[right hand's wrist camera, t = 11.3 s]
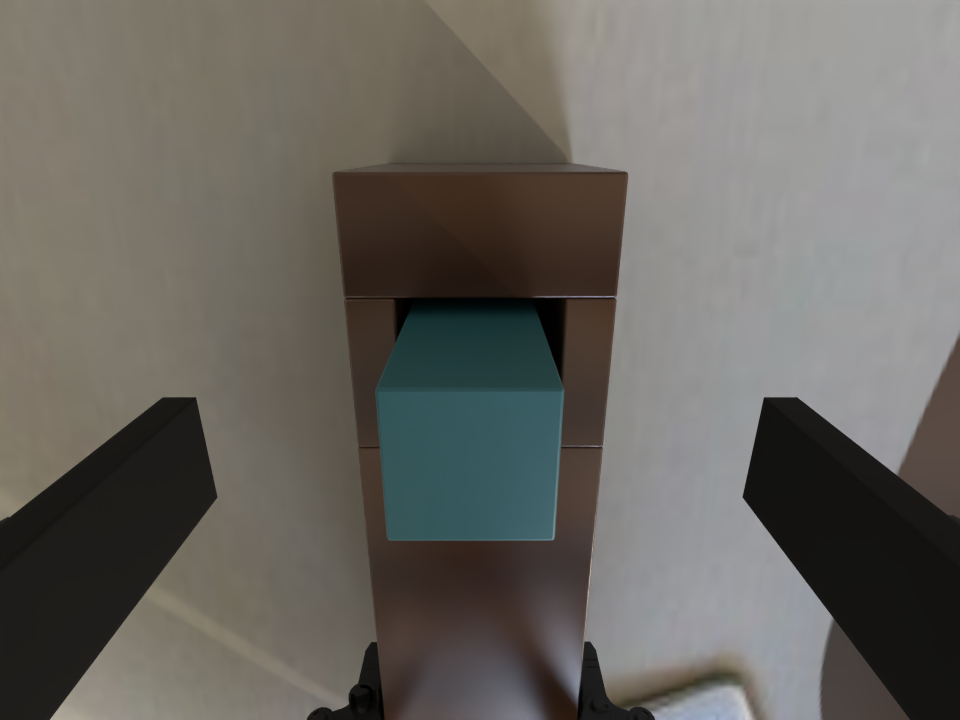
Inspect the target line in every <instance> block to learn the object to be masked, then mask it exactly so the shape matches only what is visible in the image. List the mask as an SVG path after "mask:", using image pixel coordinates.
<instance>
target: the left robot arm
mask: <svg viewBox="0 0 960 720" xmlns="http://www.w3.org/2000/svg"><path fill="white" fill-rule="evenodd" d="M307 720H385V718H384V707H383V697H382V687H381V676H380V666H379V656H378V646H377V642H371V644H370V645H369V647H368V648H367V649H366V651H365V656H364V661H363V665H362V669H361V673H360V678H359V682H358V684H356V685H355V686H354V687H353V688H352V689H351V690H350V693H349V705H347V706H346V707H344V708H342V709H339V710H336V711H333V712H332V711H331V709H329V708H325V707H321V708H318V709H316V710H314V711H313V712H312V713H311V714H310V715H309V716H308V718H307ZM577 720H655V718H654V716H653V715H652V713H651V712H650V711H648V710H647V709H645V708H642V707H634V708H632V709H631V710H630V711H628V710H625V709H621V708H619V707H617V706H615V705H614V704H612V703H611V702H610V701H609V699H608V697H607V695H606V692H605V688H604V684H603V679H602V675H601V671H600V666H599V662H598V658H597V653H596V650H595V648H594V647H593V645H592V644H591V642H584V650H583V660H582V671H581V681H580V692H579V702H578V713H577Z"/></svg>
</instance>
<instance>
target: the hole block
mask: <svg viewBox="0 0 960 720" xmlns="http://www.w3.org/2000/svg"><path fill="white" fill-rule="evenodd" d="M332 179H333V189H334V200H335V210H336V220H337V231H338V241H339V251H340V262H341V272H342V282H343V293H344V297H345V298H346V299H345V301H344V303H345V314H346V324H347V334H348V345H349V355H350V365H351V376H352V386H353V396H354V406H355V417H356V427H357V437H358V445H359V448H358V450H359V461H360V471H361V481H362V491H363V502H364V512H365V522H366V533H367V543H368V553H369V563H370V574H371V584H372V594H373V605H374V615H375V625H376V635H377V646H378V656H379V666H380V676H381V687H382V697H383V707H384V718H385V720H577V713H578V702H579V692H580V681H581V671H582V660H583V650H584V639H585V628H586V618H587V607H588V597H589V586H590V576H591V565H592V555H593V544H594V534H595V523H596V513H597V502H598V492H599V481H600V471H601V460H602V449H603V448H602V445H603V437H604V427H605V416H606V405H607V395H608V384H609V374H610V363H611V353H612V342H613V332H614V321H615V311H616V298H615V297H616V295H617V288H618V277H619V267H620V256H621V246H622V235H623V225H624V214H625V203H626V193H627V182H628V173H627V172H625V171H619V170H612V169H606V168H599V167H593V166H587V165H580V164H574V163H431V164H382V165H376V166H369V167H363V168H357V169H350V170H344V171H338V172H334V173H333V175H332ZM415 298H534V305H535V308H536V311H537V314H538V316H539V319H540V322H541V325H542V328H543V331H544V334H545V336H546V339H547V342H548V345H549V348H550V351H551V354H552V356H553V359H554V362H555V365H556V368H557V371H558V374H559V377H560V379H561V382H562V385H563V388H564V403H563V419H562V435H561V450H560V466H559V482H558V498H557V513H556V529H555V538H554V540H388V538H387V533H386V521H385V508H384V495H383V483H382V470H381V457H380V445H379V432H378V419H377V407H376V394H375V390H376V387H377V385H378V382H379V380H380V378H381V376H382V373H383V371H384V369H385V366H386V364H387V362H388V359H389V357H390V355H391V352H392V350H393V348H394V345H395V343H396V341H397V339H398V336H399V334H400V332H401V329H402V327H403V325H404V322H405V320H406V318H407V315H408V313H409V311H410V308H411V306H412V304H413V302H414V299H415Z"/></svg>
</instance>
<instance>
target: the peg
mask: <svg viewBox="0 0 960 720" xmlns="http://www.w3.org/2000/svg"><path fill="white" fill-rule="evenodd" d="M375 394H376V407H377V419H378V432H379V445H380V457H381V470H382V483H383V495H384V508H385V521H386V533H387V538H388V540H554V538H555V529H556V513H557V498H558V482H559V466H560V450H561V435H562V419H563V403H564V388H563V385H562V382H561V379H560V377H559V374H558V371H557V368H556V365H555V362H554V359H553V356H552V354H551V351H550V348H549V345H548V342H547V339H546V336H545V334H544V331H543V328H542V325H541V322H540V319H539V316H538V314H537V311H536V308H535V305H534V302H533V299H532V298H415V299H414V302H413V304H412V306H411V308H410V311H409V313H408V315H407V318H406V320H405V322H404V325H403V327H402V329H401V332H400V334H399V336H398V339H397V341H396V343H395V345H394V348H393V350H392V352H391V355H390V357H389V359H388V362H387V364H386V366H385V369H384V371H383V373H382V376H381V378H380V380H379V382H378V385H377V387H376V390H375Z"/></svg>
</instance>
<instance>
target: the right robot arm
mask: <svg viewBox="0 0 960 720" xmlns="http://www.w3.org/2000/svg"><path fill="white" fill-rule="evenodd" d="M216 498H217V493H216V489H215V484H214V479H213V475H212V470H211V465H210V461H209V456H208V451H207V447H206V442H205V437H204V433H203V428H202V423H201V419H200V414H199V409H198V405H197V400H196V397H163V398H161V399H160V400H159V401H158V402H156V403H155V404H154V405H153V406H151V407H150V408H149V409H147V410H146V411H145V412H144V413H142V414H141V415H140V416H139V417H137V418H136V419H135V420H133V421H132V422H131V423H130V424H128V425H127V426H126V427H124V428H123V429H122V430H121V431H119V432H118V433H117V434H116V435H114V436H113V437H112V438H110V439H109V440H108V441H107V442H105V443H104V444H103V445H101V446H100V447H99V448H98V449H96V450H95V451H94V452H93V453H91V454H90V455H89V456H87V457H86V458H85V459H84V460H82V461H81V462H80V463H79V464H77V465H76V466H75V467H73V468H72V469H71V470H70V471H68V472H67V473H66V474H64V475H63V476H62V477H61V478H59V479H58V480H57V481H56V482H54V483H53V484H52V485H50V486H49V487H48V488H47V489H45V490H44V491H43V492H41V493H40V494H39V495H38V496H36V497H35V498H34V499H33V500H31V501H30V502H29V503H27V504H26V505H25V506H24V507H22V508H21V509H20V510H18V511H17V512H16V513H15V514H13V515H12V516H11V517H7V518H5V519H3V520H1V521H0V720H50V719H51V717H52V716H53V715H54V713H55V712H56V711H57V709H58V708H59V707H60V705H61V704H62V703H63V701H64V700H65V699H66V697H67V696H68V695H69V693H70V692H71V691H72V689H73V688H74V687H75V685H76V684H77V683H78V681H79V680H80V679H81V678H82V676H83V675H84V674H85V672H86V671H87V670H88V668H89V667H90V666H91V664H92V663H93V662H94V660H95V659H96V658H97V656H98V655H99V654H100V652H101V651H102V650H103V648H104V647H105V646H106V644H107V643H108V642H109V640H110V639H111V638H112V636H113V635H114V634H115V632H116V631H117V630H118V628H119V627H120V626H121V624H122V623H123V622H124V620H125V619H126V618H127V617H128V615H129V614H130V613H131V611H132V610H133V609H134V607H135V606H136V605H137V603H138V602H139V601H140V599H141V598H142V597H143V595H144V594H145V593H146V591H147V590H148V589H149V587H150V586H151V585H152V583H153V582H154V581H155V579H156V578H157V577H158V575H159V574H160V573H161V571H162V570H163V569H164V567H165V566H166V565H167V563H168V562H169V561H170V559H171V558H172V557H173V556H174V554H175V553H176V552H177V550H178V549H179V548H180V546H181V545H182V544H183V542H184V541H185V540H186V538H187V537H188V536H189V534H190V533H191V532H192V530H193V529H194V528H195V526H196V525H197V524H198V522H199V521H200V520H201V518H202V517H203V516H204V514H205V513H206V512H207V510H208V509H209V508H210V506H211V505H212V504H213V502H214V501H215V500H216ZM743 498H744V500H745V501H746V502H747V504H748V505H749V506H750V508H751V509H752V510H753V512H754V513H755V514H756V516H757V517H758V518H759V520H760V521H761V522H762V524H763V525H764V526H765V528H766V529H767V530H768V532H769V533H770V534H771V536H772V537H773V538H774V540H775V541H776V542H777V544H778V545H779V546H780V548H781V549H782V550H783V552H784V553H785V554H786V556H787V557H788V558H789V559H790V561H791V562H792V563H793V565H794V566H795V567H796V569H797V570H798V571H799V573H800V574H801V575H802V577H803V578H804V579H805V581H806V582H807V583H808V585H809V586H810V587H811V589H812V590H813V591H814V593H815V594H816V595H817V597H818V598H819V599H820V601H821V602H822V603H823V605H824V606H825V607H826V609H827V610H828V611H829V613H830V614H831V615H832V617H833V618H834V619H835V620H836V622H837V623H838V624H839V626H840V627H841V628H842V630H843V631H844V632H845V634H846V635H847V636H848V638H849V639H850V640H851V642H852V643H853V644H854V646H855V647H856V648H857V650H858V651H859V652H860V654H861V655H862V656H863V658H864V659H865V660H866V662H867V663H868V664H869V666H870V667H871V668H872V670H873V671H874V672H875V674H876V675H877V676H878V678H879V679H880V680H881V681H882V683H883V684H884V685H885V687H886V688H887V689H888V691H889V692H890V693H891V695H892V696H893V697H894V699H895V700H896V701H897V703H898V704H899V705H900V707H901V708H902V709H903V711H904V712H905V713H906V715H907V716H908V717H909V719H910V720H960V519H959V518H957V517H955V516H953V515H947V514H945V513H944V512H943V511H942V510H940V509H939V508H938V507H936V506H935V505H934V504H933V503H931V502H930V501H929V500H927V499H926V498H925V497H924V496H922V495H921V494H920V493H919V492H917V491H916V490H915V489H913V488H912V487H911V486H910V485H908V484H907V483H906V482H904V481H903V480H902V479H901V478H899V477H898V476H897V475H896V474H894V473H893V472H892V471H890V470H889V469H888V468H887V467H885V466H884V465H883V464H881V463H880V462H879V461H878V460H876V459H875V458H874V457H873V456H871V455H870V454H869V453H867V452H866V451H865V450H864V449H862V448H861V447H860V446H859V445H857V444H856V443H855V442H853V441H852V440H851V439H850V438H848V437H847V436H846V435H844V434H843V433H842V432H841V431H839V430H838V429H837V428H836V427H834V426H833V425H832V424H830V423H829V422H828V421H827V420H825V419H824V418H823V417H821V416H820V415H819V414H818V413H816V412H815V411H814V410H813V409H811V408H810V407H809V406H807V405H806V404H805V403H804V402H802V401H801V400H800V399H799V398H797V397H764V400H763V405H762V409H761V414H760V419H759V423H758V428H757V433H756V437H755V442H754V447H753V451H752V456H751V461H750V465H749V470H748V475H747V479H746V484H745V489H744V493H743Z"/></svg>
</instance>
